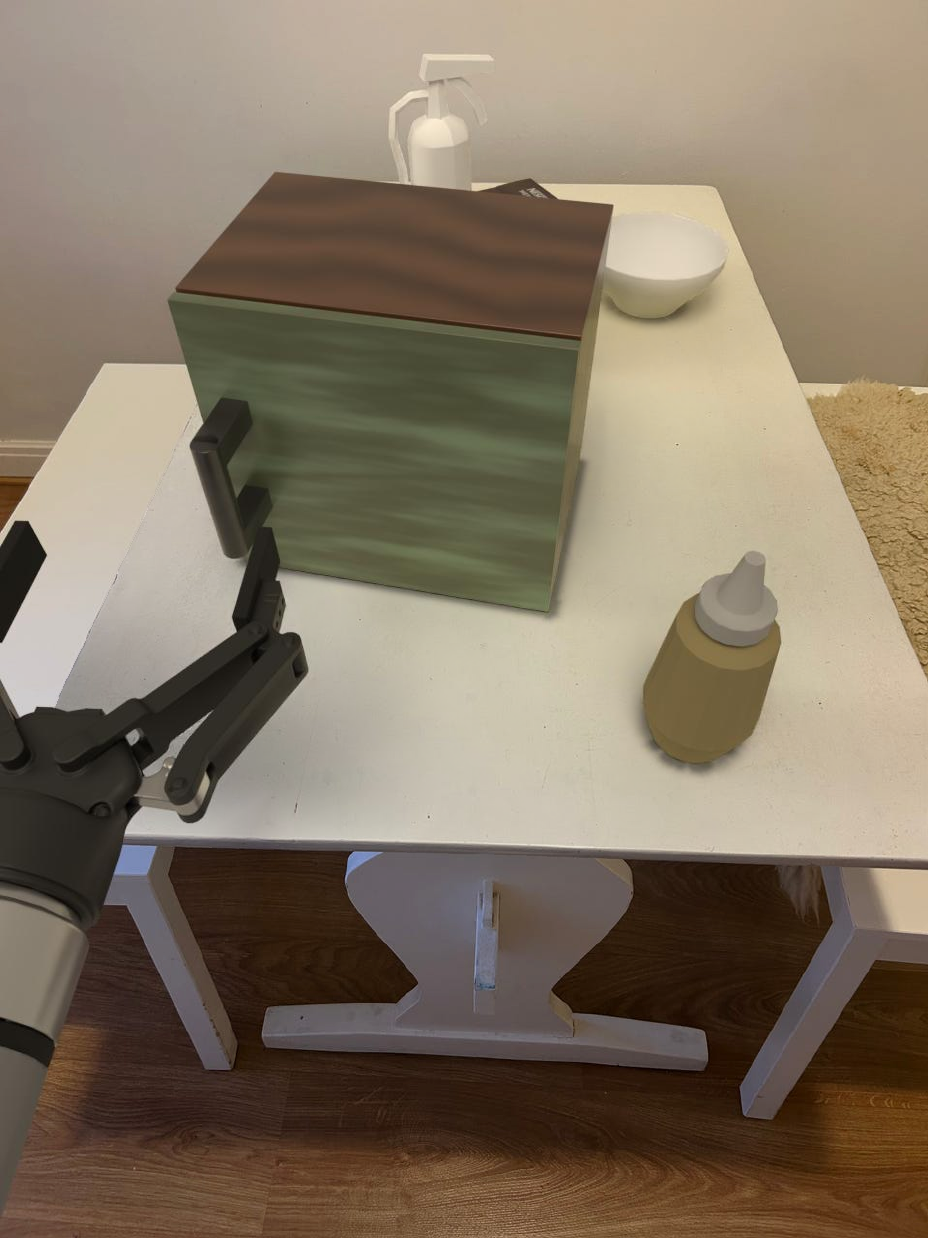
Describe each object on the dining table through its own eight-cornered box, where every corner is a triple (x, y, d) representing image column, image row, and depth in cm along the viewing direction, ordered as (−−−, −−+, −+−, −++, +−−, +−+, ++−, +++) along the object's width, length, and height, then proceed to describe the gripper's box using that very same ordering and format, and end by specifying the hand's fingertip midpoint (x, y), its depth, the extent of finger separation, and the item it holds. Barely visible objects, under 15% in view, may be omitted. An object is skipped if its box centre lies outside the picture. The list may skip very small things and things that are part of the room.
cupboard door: (536, 670, 64) (564, 409, 46) (215, 613, 68) (121, 351, 50) (550, 603, 69) (581, 340, 50) (248, 553, 72) (173, 291, 54)
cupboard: (550, 602, 69) (582, 335, 50) (249, 552, 73) (174, 287, 54) (579, 463, 80) (613, 203, 61) (317, 426, 84) (274, 171, 65)
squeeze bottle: (737, 793, 58) (822, 629, 44) (622, 758, 60) (669, 589, 46) (753, 702, 63) (834, 528, 49) (646, 672, 64) (696, 496, 51)
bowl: (693, 352, 92) (707, 292, 87) (558, 319, 97) (563, 260, 91) (729, 285, 101) (744, 227, 96) (604, 257, 106) (611, 200, 100)
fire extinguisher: (383, 292, 100) (364, 50, 81) (481, 280, 102) (484, 40, 83) (393, 322, 96) (376, 74, 77) (495, 308, 98) (502, 63, 79)
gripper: (-244, 935, 37) (-36, 580, 50) (320, 960, 36) (376, 592, 50) (-377, 862, 31) (-101, 484, 45) (291, 890, 30) (363, 496, 44)
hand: (150, 540), depth 47 cm, fingers open, 13 cm apart
